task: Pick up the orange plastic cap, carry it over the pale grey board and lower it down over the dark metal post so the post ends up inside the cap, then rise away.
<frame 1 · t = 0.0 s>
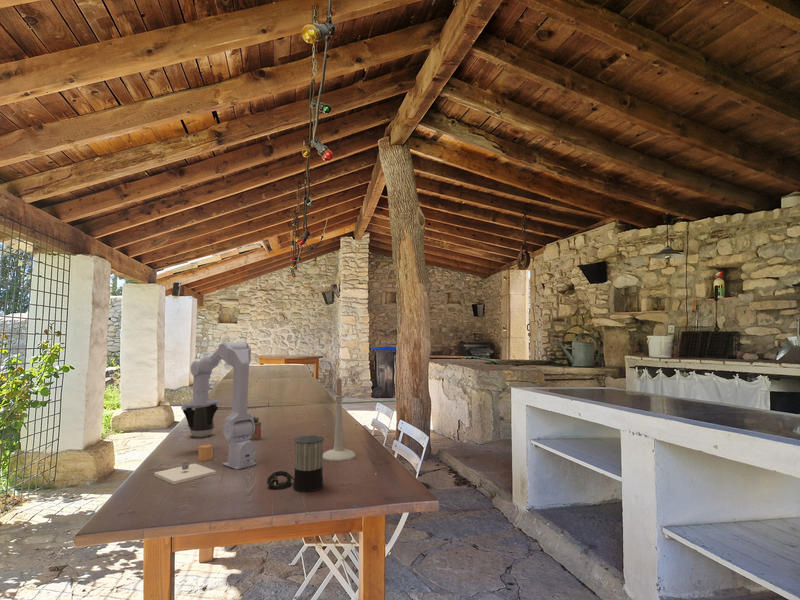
hand: (200, 425, 189), 10 cm above the table, tool pointing down, fingers open, 7 cm apart
post board: (185, 474, 159), on the table
cap: (205, 459, 178), on the table
candlestick: (338, 457, 181), on the table
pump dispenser: (201, 436, 215), on the table
milk frother: (295, 487, 147), on the table
lighter: (251, 440, 209), on the table
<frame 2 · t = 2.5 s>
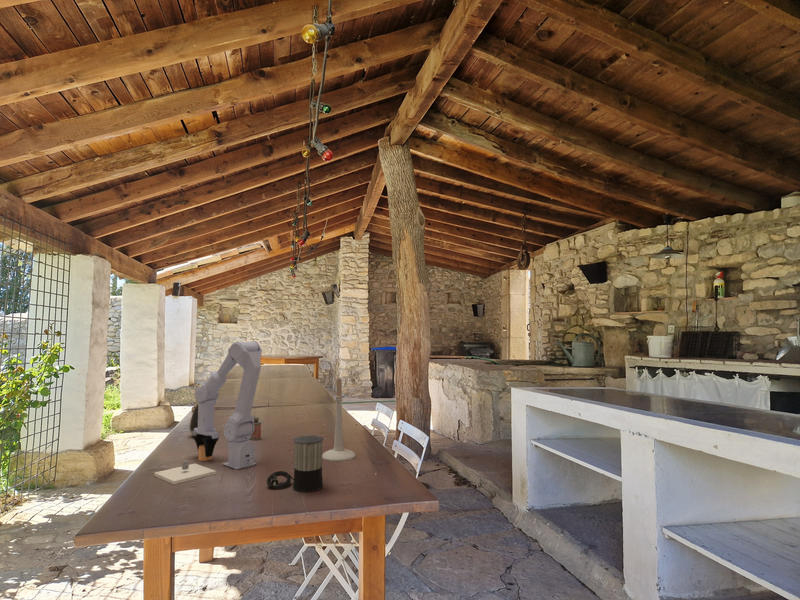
hand: (205, 455, 178), 1 cm above the table, tool pointing down, fingers closed on cap, 5 cm apart
cap: (205, 459, 178), on the table, touching gripper
everything else where it was.
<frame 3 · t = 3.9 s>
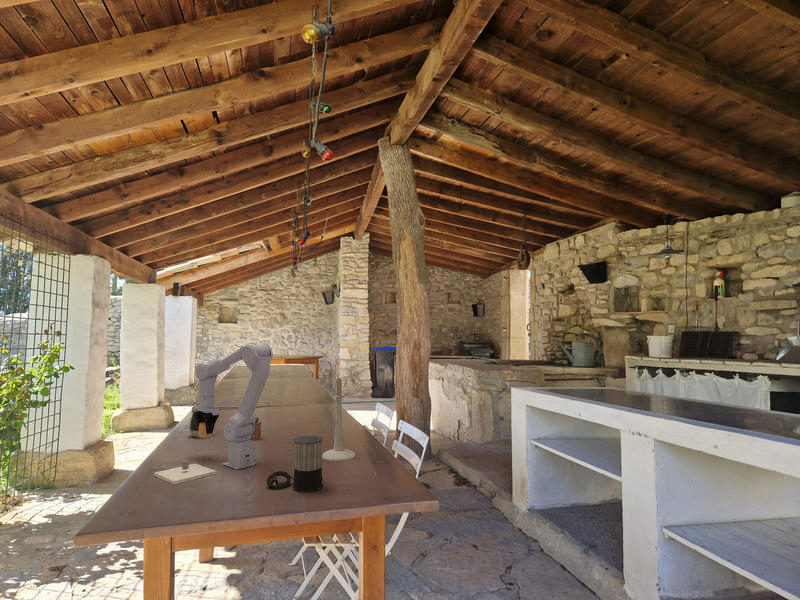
hand: (205, 432, 178), 10 cm above the table, tool pointing down, fingers closed on cap, 5 cm apart
cap: (205, 436, 178), point 8 cm above the table, touching gripper
everything else where it was.
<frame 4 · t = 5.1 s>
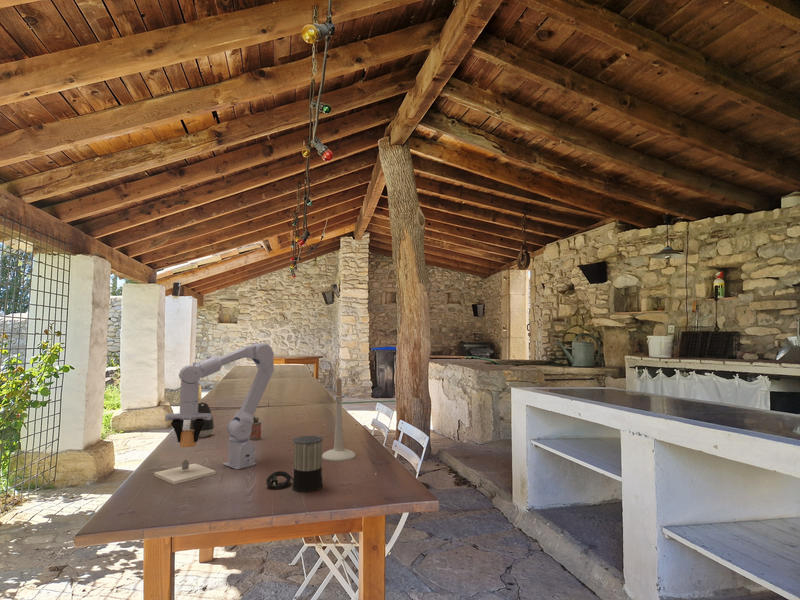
hand: (188, 441, 161), 10 cm above the table, tool pointing down, fingers closed on cap, 5 cm apart
cap: (188, 445, 161), point 9 cm above the table, touching gripper
everything else where it was.
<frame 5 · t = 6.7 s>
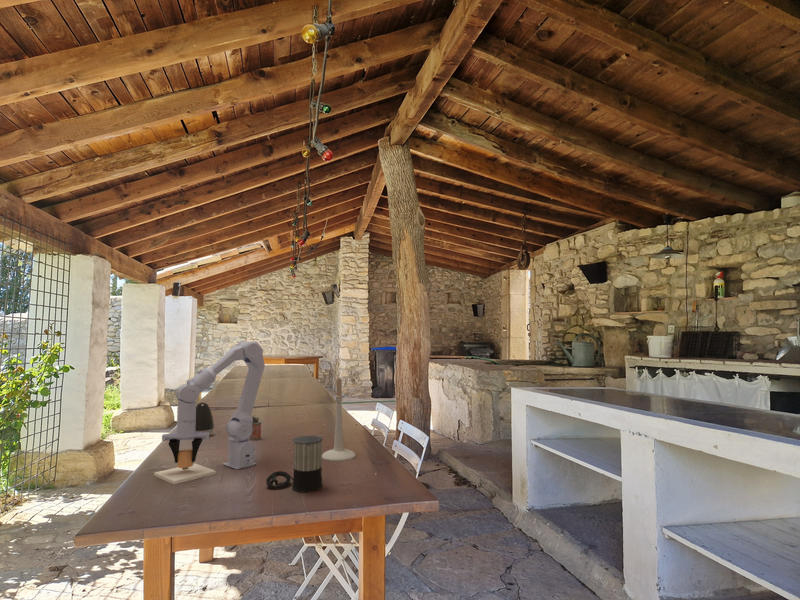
hand: (185, 461, 159), 4 cm above the table, tool pointing down, fingers closed on cap, 5 cm apart
cap: (185, 466, 159), point 3 cm above the table, touching gripper
everything else where it was.
when the fingers open (3 cm above the table, at t = 7.9 s): cap stays where it is, resting on post board.
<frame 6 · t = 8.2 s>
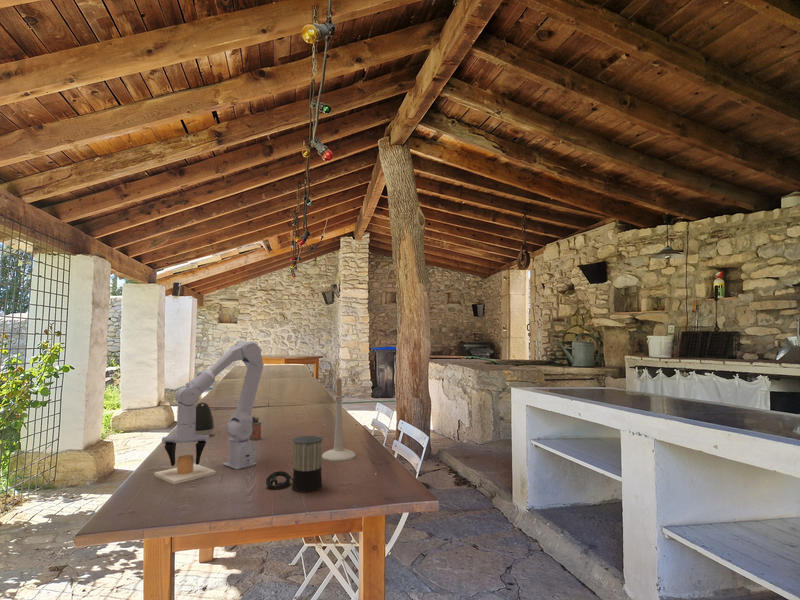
hand: (185, 464, 159), 3 cm above the table, tool pointing down, fingers open, 7 cm apart
cap: (185, 471, 159), point 1 cm above the table, touching post board
everything else where it was.
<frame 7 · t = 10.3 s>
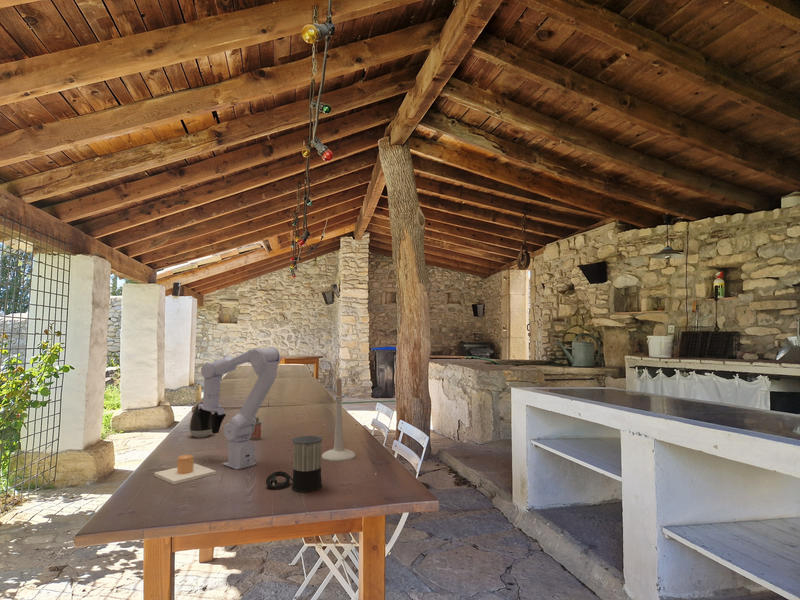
hand: (209, 431, 177), 10 cm above the table, tool pointing down, fingers open, 7 cm apart
nothing on the table moved.
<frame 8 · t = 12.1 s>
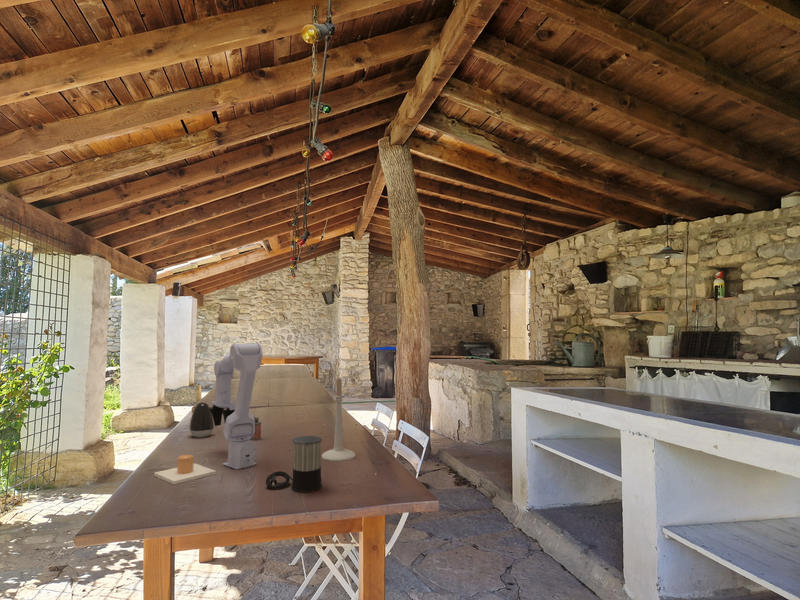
hand: (222, 426, 186), 10 cm above the table, tool pointing down, fingers open, 7 cm apart
nothing on the table moved.
at the end: cap 0.1 cm off-centre on the post board, point 1.0 cm above the post board's base; cap tilted 0°; the gripper is holding nothing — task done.
